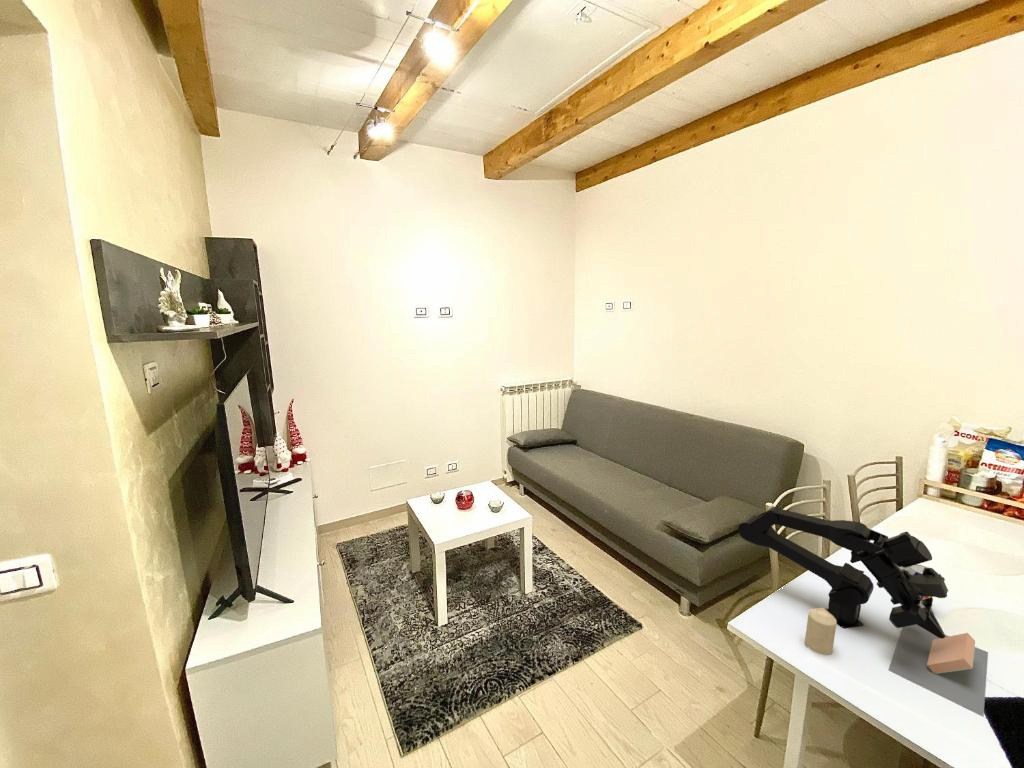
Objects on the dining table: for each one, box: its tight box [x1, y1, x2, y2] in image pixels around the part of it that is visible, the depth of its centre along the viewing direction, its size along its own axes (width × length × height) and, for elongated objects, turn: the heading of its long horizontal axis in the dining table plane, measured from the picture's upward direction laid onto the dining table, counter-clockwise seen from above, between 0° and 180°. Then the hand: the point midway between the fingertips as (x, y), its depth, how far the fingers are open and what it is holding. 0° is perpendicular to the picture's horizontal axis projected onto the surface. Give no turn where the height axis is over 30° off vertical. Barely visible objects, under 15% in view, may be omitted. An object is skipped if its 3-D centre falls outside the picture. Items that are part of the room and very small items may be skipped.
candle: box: [804, 607, 838, 656], centre depth 102 cm, size 6×6×10 cm
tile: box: [927, 632, 976, 674], centre depth 96 cm, size 2×11×8 cm
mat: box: [888, 624, 989, 718], centre depth 98 cm, size 15×24×1 cm, turn 130°
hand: (943, 637), depth 96 cm, fingers closed
